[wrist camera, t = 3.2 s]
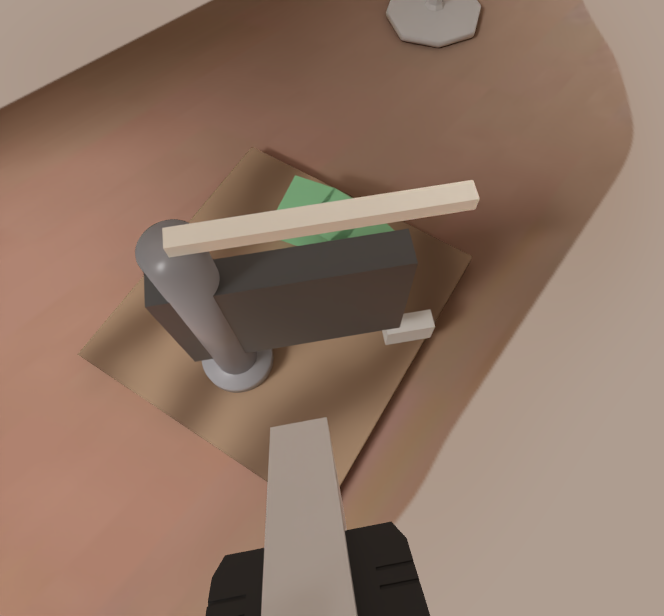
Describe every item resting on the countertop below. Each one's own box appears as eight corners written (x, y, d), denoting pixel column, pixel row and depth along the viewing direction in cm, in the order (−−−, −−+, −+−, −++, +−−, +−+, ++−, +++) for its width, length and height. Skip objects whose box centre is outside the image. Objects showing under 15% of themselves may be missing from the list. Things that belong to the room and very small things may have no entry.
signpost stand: (208, 398, 32) (102, 300, 18) (203, 333, 34) (103, 198, 20) (429, 360, 33) (493, 238, 19) (413, 298, 34) (461, 144, 20)
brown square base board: (86, 359, 35) (77, 354, 34) (254, 156, 41) (252, 146, 40) (321, 518, 30) (321, 517, 29) (468, 264, 37) (472, 256, 36)
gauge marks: (264, 224, 37) (258, 200, 34) (322, 184, 38) (320, 158, 36) (395, 366, 33) (399, 352, 30) (455, 316, 34) (465, 298, 31)
